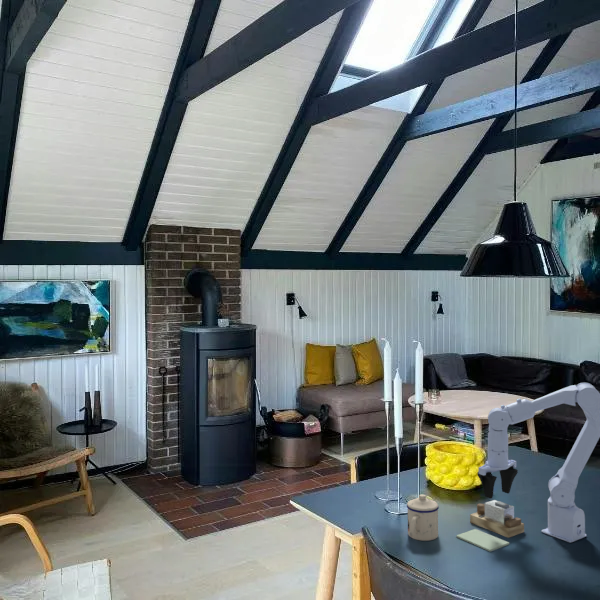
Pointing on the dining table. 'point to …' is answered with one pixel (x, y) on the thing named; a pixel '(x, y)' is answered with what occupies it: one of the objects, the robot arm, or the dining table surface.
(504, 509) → the pale grey box
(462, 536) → the mat
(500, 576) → the dining table surface
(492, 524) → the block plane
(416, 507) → the teacup with lid
